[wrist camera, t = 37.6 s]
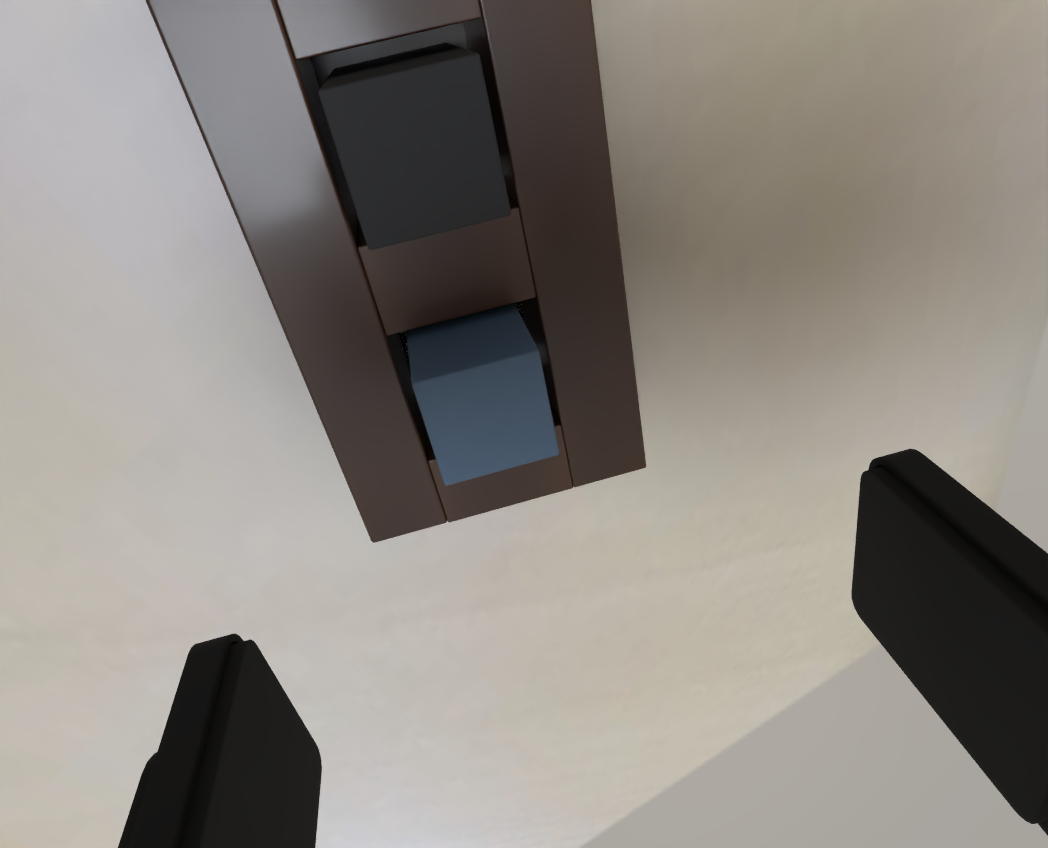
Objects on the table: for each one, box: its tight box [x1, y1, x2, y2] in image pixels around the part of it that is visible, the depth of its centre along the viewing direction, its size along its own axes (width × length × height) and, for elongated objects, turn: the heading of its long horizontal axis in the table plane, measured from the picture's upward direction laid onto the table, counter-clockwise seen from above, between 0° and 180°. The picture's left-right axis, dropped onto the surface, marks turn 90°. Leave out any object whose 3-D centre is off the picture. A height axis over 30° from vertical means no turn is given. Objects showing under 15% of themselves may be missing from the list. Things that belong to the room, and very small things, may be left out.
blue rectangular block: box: [406, 303, 559, 486], centre depth 20 cm, size 3×3×6 cm
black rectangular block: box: [318, 43, 511, 250], centre depth 17 cm, size 3×3×6 cm
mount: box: [146, 0, 646, 542], centre depth 20 cm, size 9×16×4 cm, turn 11°
